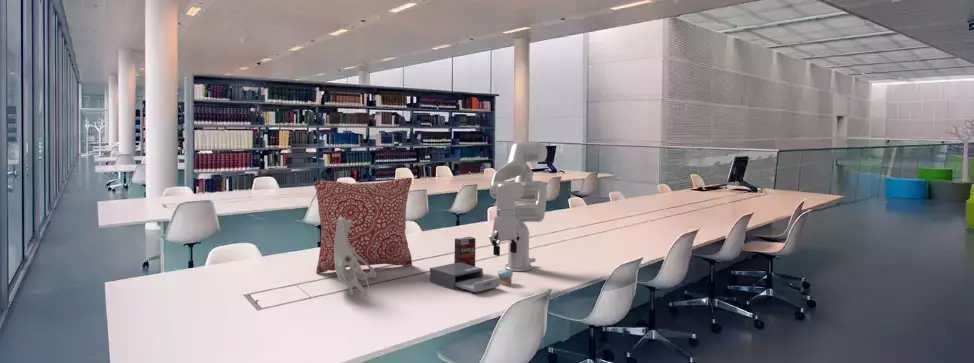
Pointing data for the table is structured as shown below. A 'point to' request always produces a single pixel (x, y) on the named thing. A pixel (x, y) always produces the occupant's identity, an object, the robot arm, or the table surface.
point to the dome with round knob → (505, 273)
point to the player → (454, 274)
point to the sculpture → (346, 250)
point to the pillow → (365, 221)
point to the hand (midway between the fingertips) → (505, 254)
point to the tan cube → (505, 280)
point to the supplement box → (465, 250)
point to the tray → (478, 284)
